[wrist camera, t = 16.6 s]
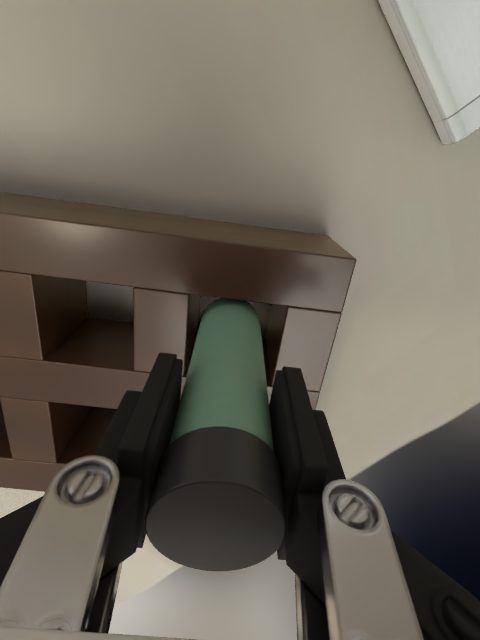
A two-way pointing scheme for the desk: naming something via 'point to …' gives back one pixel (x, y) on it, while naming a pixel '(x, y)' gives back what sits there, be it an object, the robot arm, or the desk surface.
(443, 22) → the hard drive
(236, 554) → the sage tube
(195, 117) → the desk surface
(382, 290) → the desk surface
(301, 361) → the rack
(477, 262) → the desk surface
